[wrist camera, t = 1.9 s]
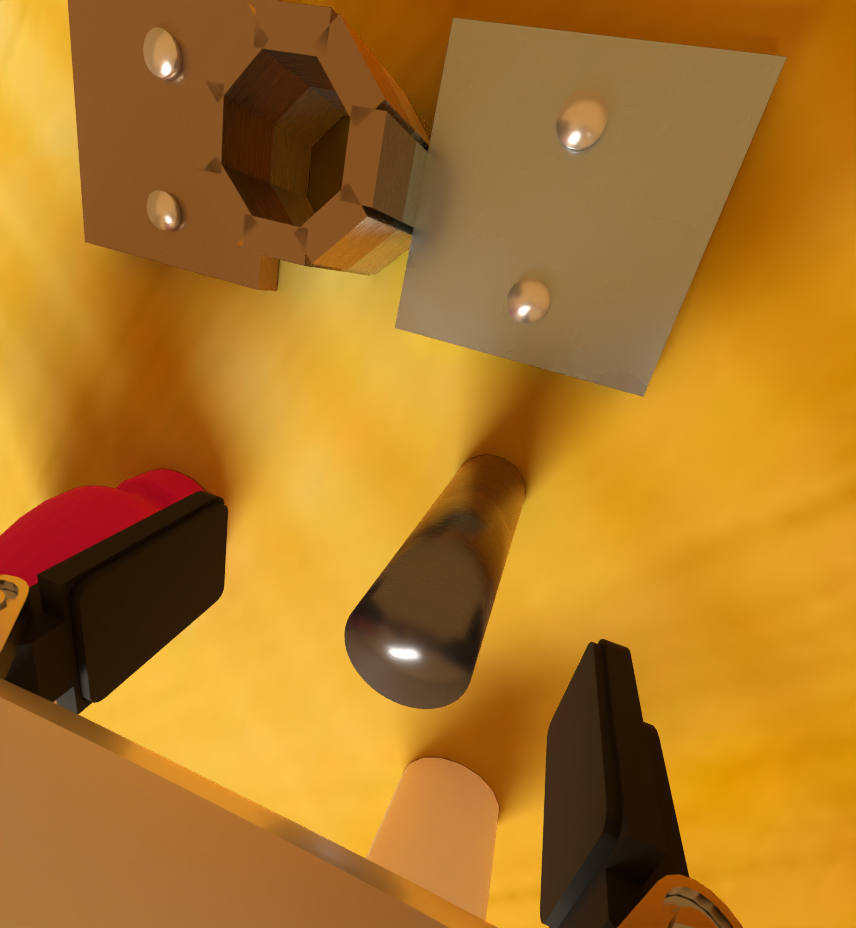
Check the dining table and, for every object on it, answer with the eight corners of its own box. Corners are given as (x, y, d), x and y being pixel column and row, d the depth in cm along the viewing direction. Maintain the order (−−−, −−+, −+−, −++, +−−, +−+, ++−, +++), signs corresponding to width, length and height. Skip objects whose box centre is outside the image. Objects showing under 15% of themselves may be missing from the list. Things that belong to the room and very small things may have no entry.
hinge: (769, 78, 12) (863, -36, 8) (639, 390, 16) (658, 419, 12) (97, -7, 17) (-54, -105, 13) (110, 245, 21) (-6, 229, 17)
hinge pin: (535, 468, 18) (488, 629, 9) (513, 531, 19) (453, 729, 10) (464, 445, 19) (355, 574, 10) (447, 507, 20) (336, 674, 11)
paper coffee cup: (375, 781, 27) (273, 1015, 18) (435, 732, 24) (350, 980, 15) (460, 854, 27) (400, 1129, 18) (532, 813, 24) (503, 1116, 15)
